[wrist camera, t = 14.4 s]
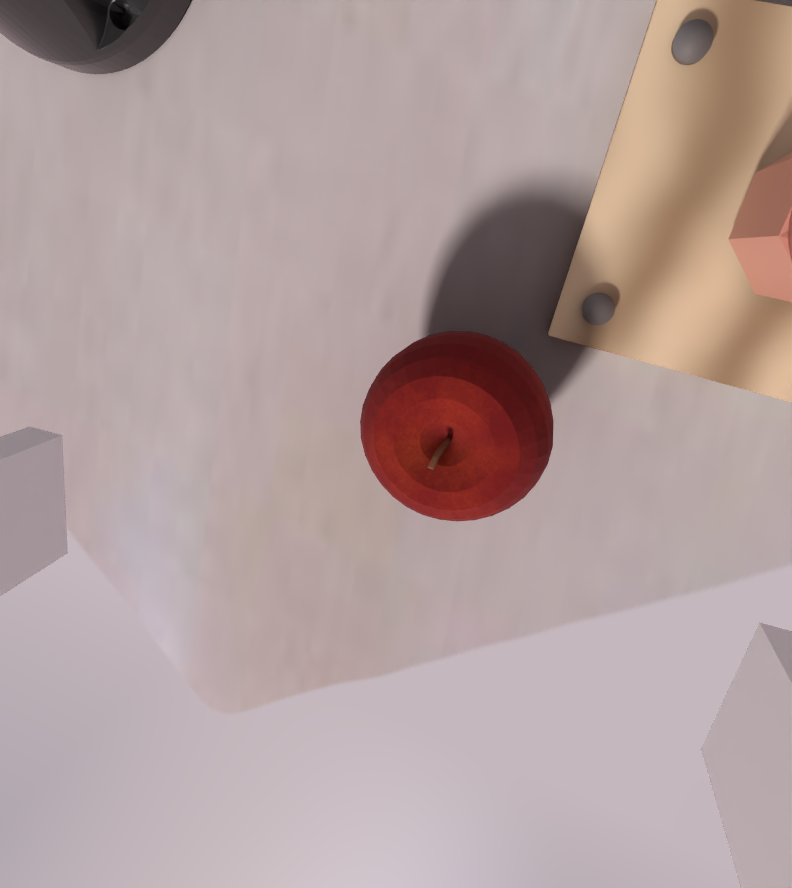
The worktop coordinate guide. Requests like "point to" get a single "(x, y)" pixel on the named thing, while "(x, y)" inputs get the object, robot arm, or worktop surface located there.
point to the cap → (767, 231)
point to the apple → (457, 426)
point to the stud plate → (688, 201)
